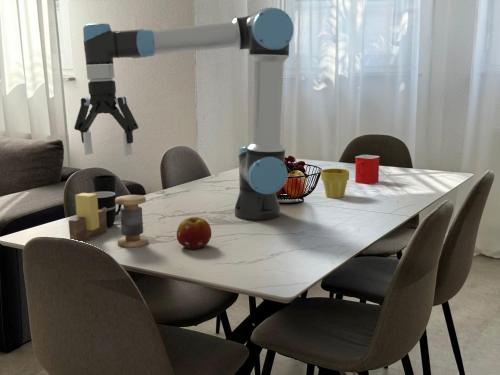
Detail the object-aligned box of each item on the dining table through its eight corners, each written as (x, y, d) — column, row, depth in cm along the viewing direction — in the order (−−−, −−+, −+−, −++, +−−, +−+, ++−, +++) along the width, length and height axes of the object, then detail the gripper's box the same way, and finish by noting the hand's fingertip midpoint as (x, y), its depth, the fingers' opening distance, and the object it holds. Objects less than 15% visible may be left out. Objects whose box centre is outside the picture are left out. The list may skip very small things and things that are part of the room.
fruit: (182, 253, 161) (181, 224, 159) (172, 244, 169) (171, 217, 167) (216, 248, 164) (215, 220, 163) (205, 240, 172) (204, 213, 171)
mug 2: (362, 179, 257) (363, 154, 255) (380, 181, 252) (381, 156, 250) (348, 183, 248) (348, 158, 246) (366, 186, 243) (367, 160, 241)
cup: (112, 214, 204) (109, 179, 201) (90, 213, 205) (88, 178, 203) (121, 208, 211) (119, 175, 209) (100, 208, 213) (98, 174, 210)
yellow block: (99, 227, 176) (97, 193, 174) (91, 230, 173) (89, 196, 171) (85, 225, 178) (82, 192, 176) (77, 228, 175) (75, 195, 173)
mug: (100, 231, 183) (98, 198, 181) (82, 226, 189) (79, 195, 187) (130, 223, 192) (129, 191, 190) (112, 218, 198) (110, 188, 196)
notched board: (107, 232, 182) (105, 209, 181) (77, 245, 170) (75, 220, 168) (100, 231, 183) (99, 208, 182) (70, 244, 170) (68, 220, 169)
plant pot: (317, 198, 223) (317, 172, 221) (324, 192, 232) (325, 167, 230) (345, 200, 219) (345, 173, 217) (351, 194, 228) (352, 169, 226)
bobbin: (153, 240, 173) (151, 196, 170) (137, 248, 165) (134, 202, 163) (128, 237, 176) (126, 194, 173) (111, 245, 168) (108, 200, 166)
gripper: (146, 78, 170) (152, 153, 174) (73, 80, 179) (81, 151, 183) (131, 79, 163) (138, 157, 167) (57, 82, 172) (65, 155, 176)
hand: (108, 154), depth 175 cm, fingers open, 13 cm apart
